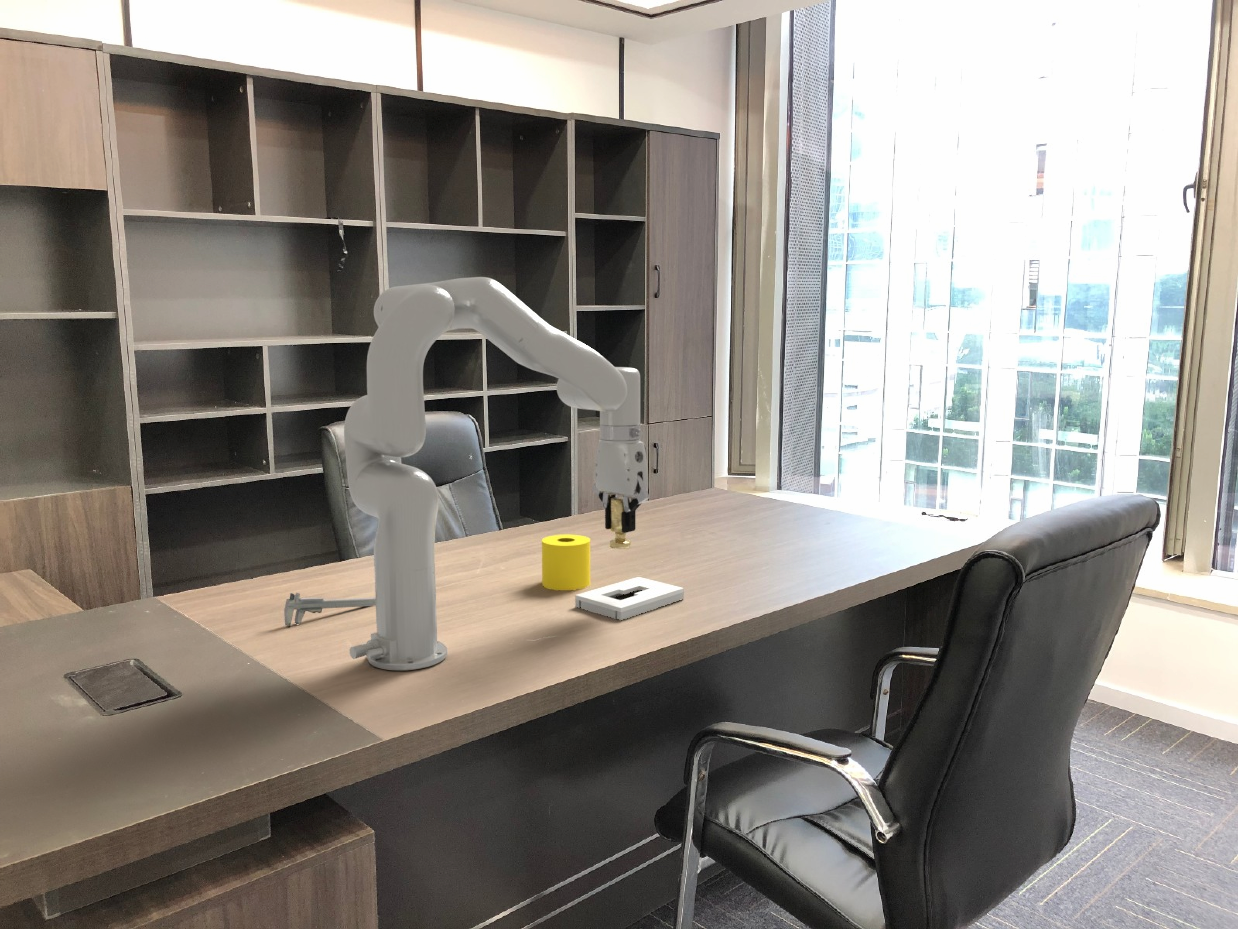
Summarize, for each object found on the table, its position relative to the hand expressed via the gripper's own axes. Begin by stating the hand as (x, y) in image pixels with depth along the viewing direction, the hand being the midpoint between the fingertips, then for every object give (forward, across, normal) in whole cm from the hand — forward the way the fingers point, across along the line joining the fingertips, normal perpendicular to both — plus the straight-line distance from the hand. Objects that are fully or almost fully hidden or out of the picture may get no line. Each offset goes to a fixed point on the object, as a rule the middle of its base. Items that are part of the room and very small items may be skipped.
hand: (620, 528), depth 180 cm
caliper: (+16, +35, +40) cm, 55 cm away
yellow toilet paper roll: (+16, +19, -4) cm, 25 cm away
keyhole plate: (+15, 0, -3) cm, 16 cm away
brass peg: (+3, 0, 0) cm, 3 cm away
